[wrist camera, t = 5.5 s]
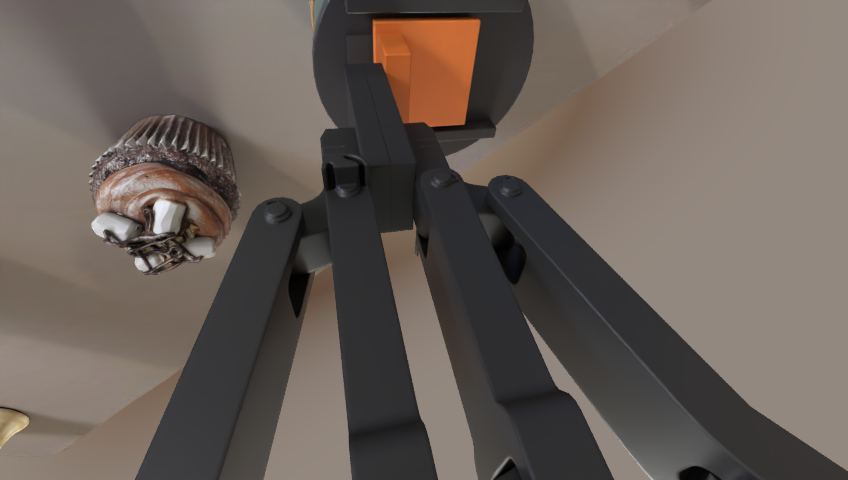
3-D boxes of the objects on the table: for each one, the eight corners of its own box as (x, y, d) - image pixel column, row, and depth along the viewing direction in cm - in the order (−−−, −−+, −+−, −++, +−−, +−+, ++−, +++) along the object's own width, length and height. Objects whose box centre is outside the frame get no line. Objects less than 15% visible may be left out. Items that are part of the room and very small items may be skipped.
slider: (375, 125, 20) (383, 155, 18) (372, 17, 16) (382, 43, 14) (462, 119, 20) (477, 147, 19) (477, 16, 17) (497, 40, 15)
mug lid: (325, 160, 22) (328, 180, 21) (293, -76, 14) (294, -65, 13) (502, 146, 24) (513, 163, 23) (555, -68, 16) (574, -58, 15)
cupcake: (269, 174, 36) (265, 259, 30) (177, 217, 37) (154, 307, 31) (186, 82, 29) (157, 166, 23) (75, 138, 30) (18, 234, 24)
